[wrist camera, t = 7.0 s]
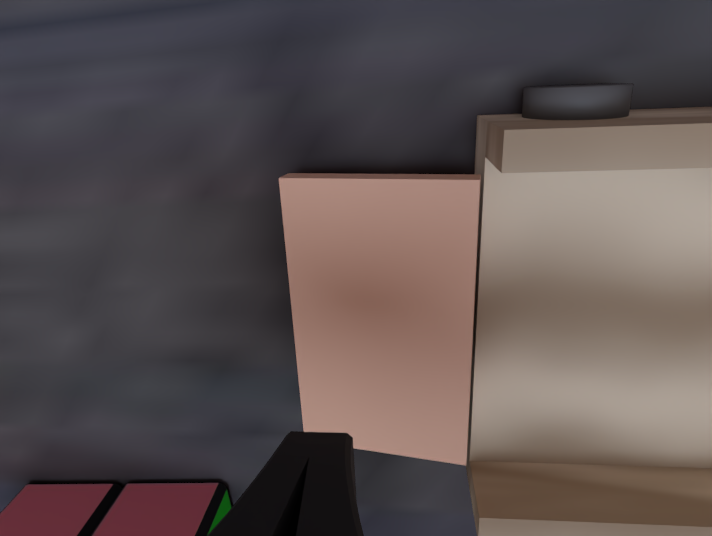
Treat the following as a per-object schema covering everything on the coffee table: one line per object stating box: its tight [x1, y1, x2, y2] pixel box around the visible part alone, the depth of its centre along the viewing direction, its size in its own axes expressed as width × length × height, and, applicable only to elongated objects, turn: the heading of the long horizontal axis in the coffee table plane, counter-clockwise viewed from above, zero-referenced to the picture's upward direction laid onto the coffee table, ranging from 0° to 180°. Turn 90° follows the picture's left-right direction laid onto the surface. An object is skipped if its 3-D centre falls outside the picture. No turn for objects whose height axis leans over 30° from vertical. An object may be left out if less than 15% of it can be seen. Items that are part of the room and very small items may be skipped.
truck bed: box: [466, 84, 712, 536], centre depth 15 cm, size 15×12×6 cm
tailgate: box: [279, 173, 481, 465], centre depth 17 cm, size 1×10×6 cm
